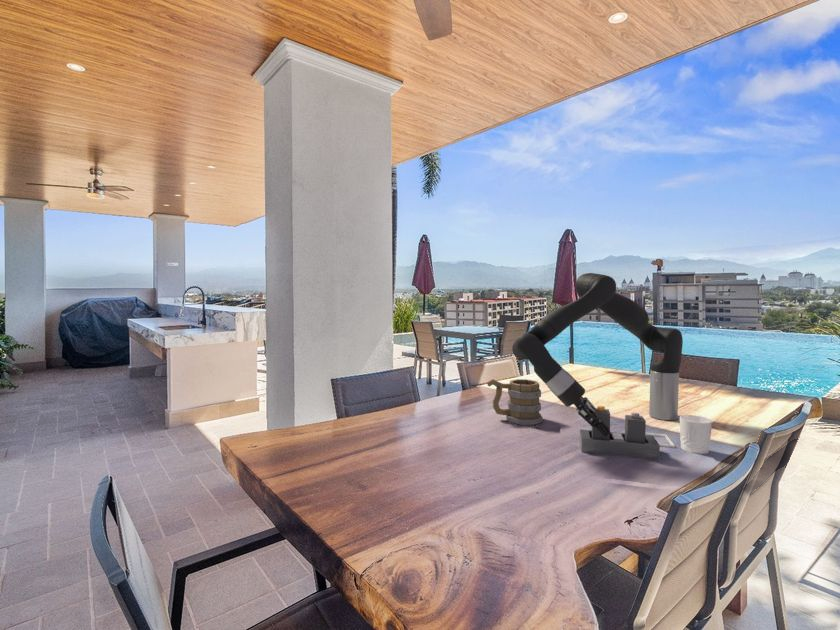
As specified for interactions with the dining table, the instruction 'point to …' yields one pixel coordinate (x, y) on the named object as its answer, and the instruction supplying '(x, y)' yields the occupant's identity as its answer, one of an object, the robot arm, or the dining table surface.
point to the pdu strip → (619, 445)
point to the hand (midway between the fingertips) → (607, 431)
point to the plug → (605, 419)
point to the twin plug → (635, 428)
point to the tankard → (519, 401)
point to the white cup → (695, 433)
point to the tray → (665, 437)
